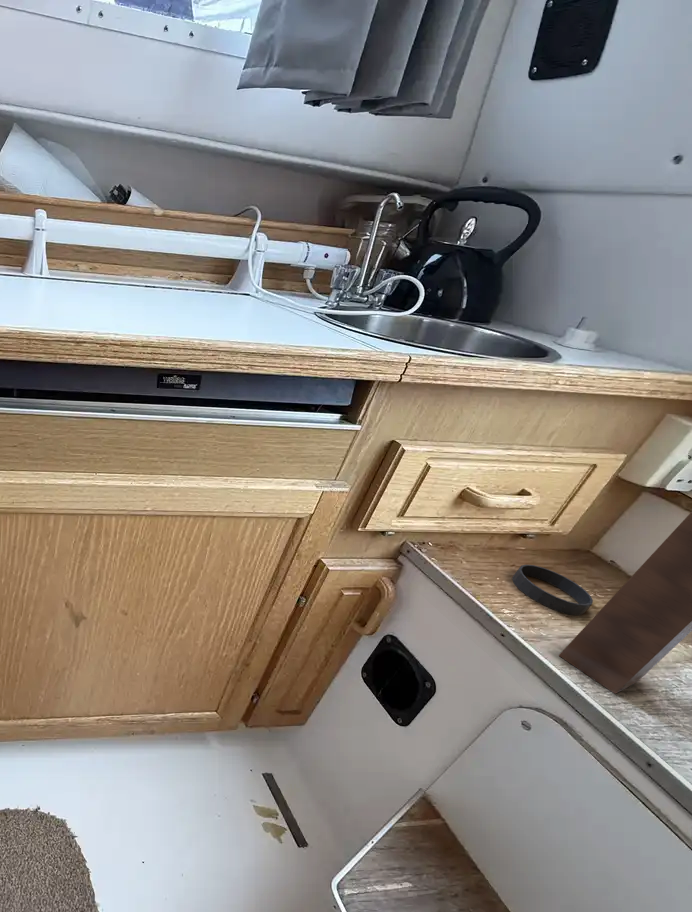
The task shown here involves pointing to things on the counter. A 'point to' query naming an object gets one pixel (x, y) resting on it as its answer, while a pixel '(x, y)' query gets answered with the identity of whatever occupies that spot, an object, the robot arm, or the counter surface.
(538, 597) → the ring
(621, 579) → the counter surface
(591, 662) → the stand
